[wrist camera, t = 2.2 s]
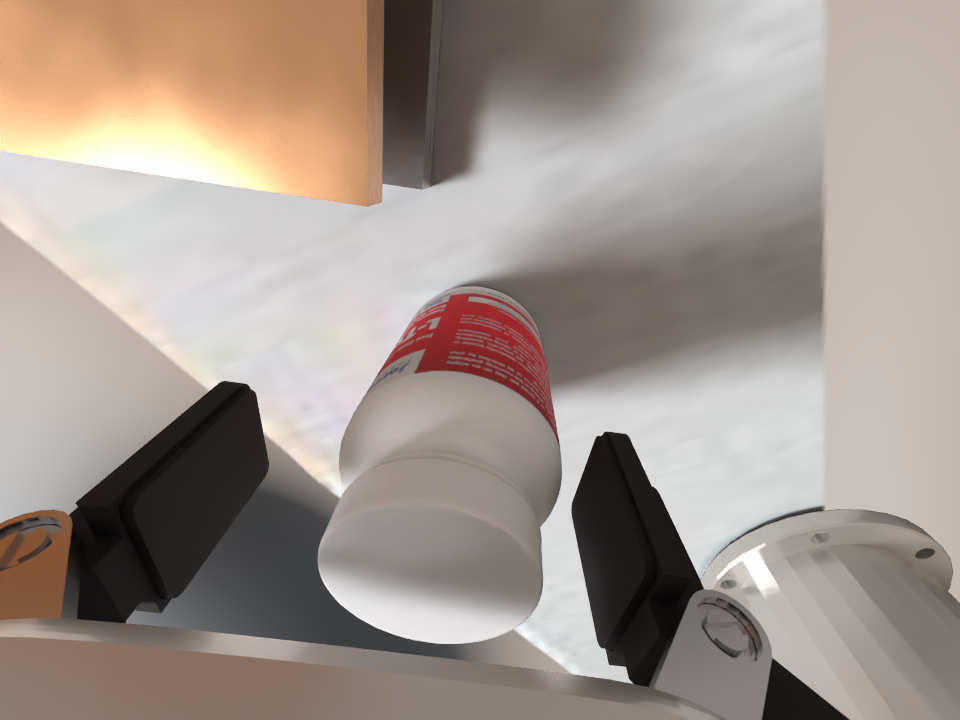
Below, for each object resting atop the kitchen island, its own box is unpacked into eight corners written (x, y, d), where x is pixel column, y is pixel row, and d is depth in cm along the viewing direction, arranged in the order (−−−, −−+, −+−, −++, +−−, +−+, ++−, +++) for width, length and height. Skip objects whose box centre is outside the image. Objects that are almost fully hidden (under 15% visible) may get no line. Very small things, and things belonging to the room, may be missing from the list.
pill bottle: (440, 256, 16) (325, 415, 6) (568, 322, 17) (651, 553, 7) (389, 371, 18) (251, 610, 9) (501, 422, 19) (491, 689, 10)
